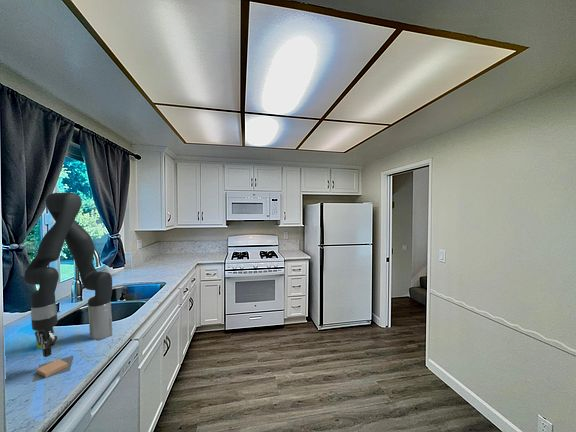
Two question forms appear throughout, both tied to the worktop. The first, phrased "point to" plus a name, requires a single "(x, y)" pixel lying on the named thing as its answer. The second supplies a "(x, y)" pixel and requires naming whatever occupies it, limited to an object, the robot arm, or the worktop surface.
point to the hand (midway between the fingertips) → (47, 355)
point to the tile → (52, 367)
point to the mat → (67, 360)
